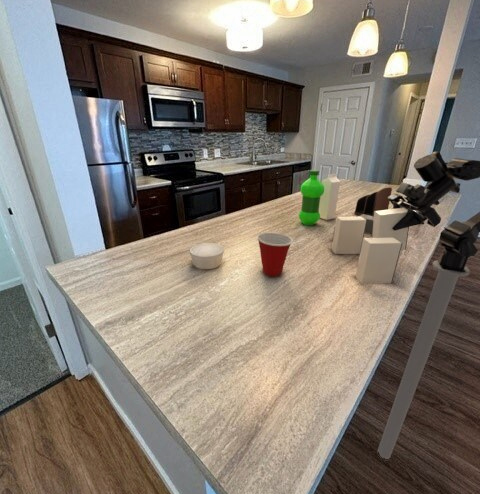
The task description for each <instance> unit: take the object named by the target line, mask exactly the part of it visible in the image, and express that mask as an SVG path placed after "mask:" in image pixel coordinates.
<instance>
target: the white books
mask: <svg viewBox="0 0 480 494" xmlns="http://www.w3.org/2000/svg"><path fill="white" fill-rule="evenodd" d="M335 218H336V219H335V223H334V224H335V225H334V227H335V231H334V230H333V233H334V237H333V236H332V240H333V241H332V245H331V251H332V252H333V253H334V254H335V255H359V258H358V263H357V266H356V272H355V278H356V279H357V281H358V282H359V283H360V284H361V285H373V284H393V281H394V277H395V273H396V271H397V266H398V261H399V258H400V255H401V252H402V250H401V247H402V242H400V241H399V240H397V239H395V238H394V237H393V238H372V237H364V236H365V233H366V232H365V227H366V222H367V220H366V219H365V218H363V217H358V216H336V217H335Z"/></svg>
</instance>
